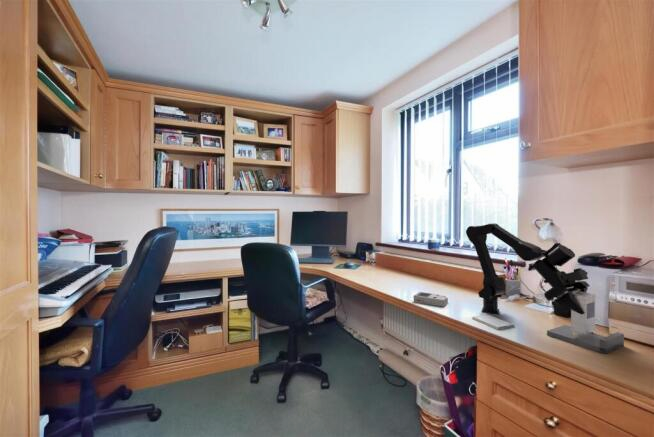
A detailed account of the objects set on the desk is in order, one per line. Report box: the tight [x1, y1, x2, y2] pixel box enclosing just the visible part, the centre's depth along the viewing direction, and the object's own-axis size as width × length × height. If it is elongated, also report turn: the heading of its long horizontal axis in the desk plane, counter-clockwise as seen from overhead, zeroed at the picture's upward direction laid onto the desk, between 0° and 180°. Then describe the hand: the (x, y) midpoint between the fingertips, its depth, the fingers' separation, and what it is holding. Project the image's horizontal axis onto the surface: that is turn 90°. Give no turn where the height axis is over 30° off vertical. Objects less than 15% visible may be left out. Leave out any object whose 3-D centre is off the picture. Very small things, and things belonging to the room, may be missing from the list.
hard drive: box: [471, 314, 515, 331], centre depth 113 cm, size 2×8×12 cm
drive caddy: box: [570, 292, 596, 334], centre depth 96 cm, size 4×6×12 cm, turn 115°
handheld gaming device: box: [413, 291, 449, 307], centre depth 141 cm, size 9×15×4 cm, turn 53°
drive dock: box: [546, 324, 625, 355], centre depth 96 cm, size 16×12×4 cm
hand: (588, 312), depth 95 cm, fingers closed on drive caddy, 6 cm apart
